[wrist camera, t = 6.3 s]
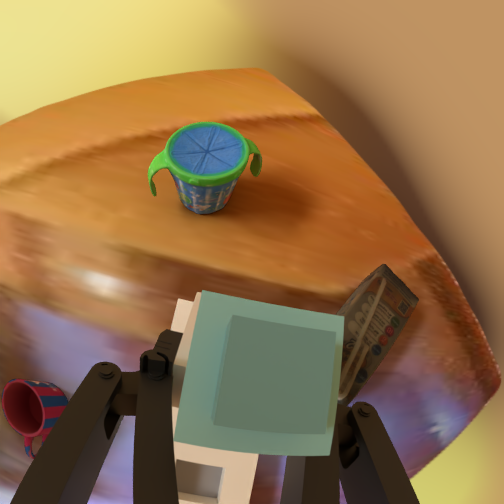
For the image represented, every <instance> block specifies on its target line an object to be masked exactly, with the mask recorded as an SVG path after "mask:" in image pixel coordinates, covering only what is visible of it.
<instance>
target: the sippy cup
mask: <svg viewBox="0 0 504 504" xmlns="http://www.w3.org/2000/svg"><path fill="white" fill-rule="evenodd" d="M252 153H254V156H253V160H252V162H251V165H250V170H251V172H252V174H253V176H255V177H257V176H258V175H259V174H260V171H261V167H262V156H261V154H260V151H259V150H258V148H257V146H256V145H255V144H254V143H253V142H252V141H251V140H249V139H246V138H244V137H243V136H242V135H241V134H240V133H239V132H238V131H237V130H235V129H233V128H231V127H229V126H227V125H224V124H221V123H216V122H198V123H193V124H190V125H187V126H184V127H182V128H180V129H179V130H177V131H176V132H175V133H174V134H173V135H172V136H171V137H170V138H169V140H168V142H167V144H166V147H165V149H164V150H163V151H162V152H161V153H159V154H158V155H157V156H155V158H154V160H153V161H152V162H151V164H150V167H149V169H148V180H149V185H150V189H151V192H152V194H153V196H156V188H155V184H154V182H153V181H152V177H153V175H155V173H156V172H158V171H159V170H160V169H163V168H167V169H169V171H170V173H171V175H172V177H173V179H174V181H175V185H176V188H177V191H178V194H179V198H180V200H181V201H182V203H183V204H184V205H185V206H186V207H187V208H188V209H189V210H191V211H194V212H195V213H197V214H206V213H207V214H209V213H212V212H215V211H218V210H221V209H222V208H223V207H224V206H225V205H226V203H227V202H228V200H229V198H230V196H231V194H232V192H233V190H234V187H235V185H236V183H237V180H238V178H239V176H240V175H241V174H242V172H243V171H244V169H245V167H246V165H247V162H248V159H249V155H250V154H252Z"/></svg>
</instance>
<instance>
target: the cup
mask: <svg viewBox="0 0 504 504" xmlns="http://www.w3.org/2000/svg"><path fill="white" fill-rule="evenodd" d="M67 404H68V401H67V398H66V397H65V395H64V393H63V392H62V391H61V390H60V389H59V388H58V387H57V386H55V385H54V384H52V383H49V382H40V381H32V380H24V379H13V380H11V381H9V382H8V383H7V384H6V386H5V387H4V390H3V393H2V407H3V411H4V414H5V417H6V419H7V421H8V422H9V424H10V425H11V426H12V428H13V429H14V430H15V431H16V432H18V433H19V434H21V435H23V436H25V450H26V453H27V455H28V456H29V457H31V458H32V459H34V458H35V456H36V455H37V454H36V455H33V453H32V440H33V437H36V436H41V435H43V439H42V444H43V443H44V441H45V439H46V438H47V436H48V434H49V433H50V431H51V429H52V428H53V426H54V425H55V423H56V421H57V420H58V418H59V417H60V415H61V413H62V412H63V410H64V409H65V407H66V406H67Z"/></svg>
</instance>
